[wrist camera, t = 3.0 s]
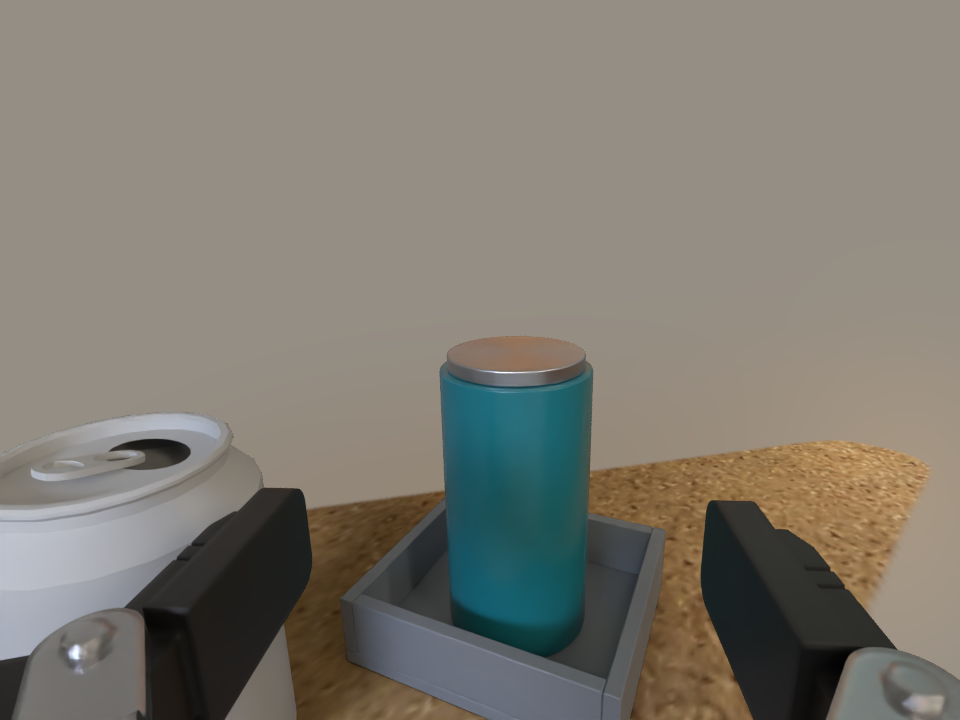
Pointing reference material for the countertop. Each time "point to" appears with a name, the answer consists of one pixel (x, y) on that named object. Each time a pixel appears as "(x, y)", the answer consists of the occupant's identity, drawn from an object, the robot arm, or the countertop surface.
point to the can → (120, 527)
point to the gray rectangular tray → (496, 666)
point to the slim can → (517, 488)
